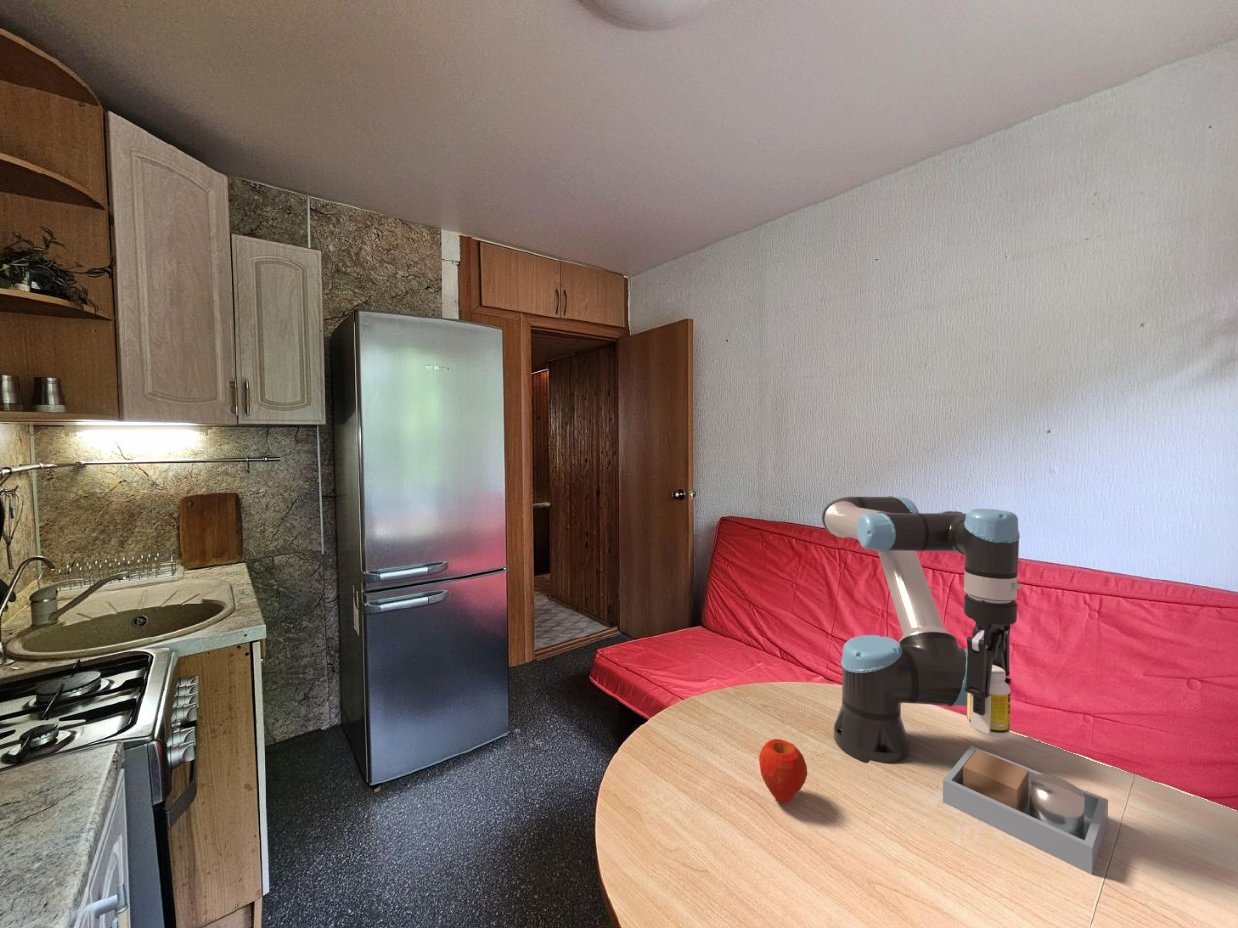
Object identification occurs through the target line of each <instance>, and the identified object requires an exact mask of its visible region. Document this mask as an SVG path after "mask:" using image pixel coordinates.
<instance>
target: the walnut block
mask: <svg viewBox="0 0 1238 928" xmlns="http://www.w3.org/2000/svg"><path fill="white" fill-rule="evenodd" d="M963 786H965V787H967V788H969V789H971V790H974V791H976V792H978V793H980V794H983V795H985V796H987V797H989V798H991V799H994V800H996V801H998V802H1000V803H1002V804H1005V805H1007V806H1009V807H1011V808H1014V809H1016V810H1018V811H1020V812H1023V811H1024V809H1025V807H1026V805H1027V803H1028V789H1029V770H1027V769H1025V768H1022V767H1020V766H1017V765H1015V764H1012V763H1010V762H1007V761H1005V760H1002V759H1000V758H997V757H994V756H992V755H989V754H987V753H984V752H982V751H979V750H976V751H975V752H974V754H973V755H972V756H971V757H970V759H969V760H968V761H967V762H966V764H965V765H964V766H963Z"/></svg>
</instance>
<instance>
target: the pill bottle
mask: <svg viewBox="0 0 1238 928" xmlns="http://www.w3.org/2000/svg"><path fill="white" fill-rule="evenodd" d="M1005 678H1007V676H1006V674H1005V671H1004V670H1003V669H1002V668H1000V667H998V666H995V665H992V672H991V680H990V688H989V696H991V727H990V734H987V733H984V732H981V731H979V730H976V729H974V728H972V729H973V730H974V731H976V732H977V733H979V734H980V733H981V734H983V735H986V736H990V737H994V738H1004V737H1007V736H1009V734H1010V731H1011V695H1012V694H1011V688H1010V685H1009V684H1007V683H1006V682H1004V681H1005ZM966 721H967V724H968V726H969V727H971V694H970V693H967V706H966Z"/></svg>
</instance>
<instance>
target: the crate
mask: <svg viewBox="0 0 1238 928" xmlns="http://www.w3.org/2000/svg"><path fill="white" fill-rule="evenodd" d="M976 750H979V751H982V752H984V753H987V754H989V755H992V756H994V757H997V758H1000V759H1002V760H1005V761H1007V762H1010V763H1012V764H1015V765H1017V766H1020V767H1022V768H1025V769H1027V770H1029V789H1028V803H1027V805H1026V807H1025V809H1024V811H1023V812H1020V811H1018V810H1016V809H1014V808H1011V807H1009V806H1007V805H1005V804H1002V803H1000V802H998V801H996V800H994V799H991V798H989V797H987V796H985V795H983V794H980V793H978V792H976V791H974V790H971V789H969V788H967V787H965V786H963V766H964V765H965V764H966V762H967V761H968V760H969V759H970V757H971V756H972V755H973V754H974V752H975V751H976ZM1034 774H1043V773H1042V772H1039V771H1036V770H1034V769H1031V768H1030V767H1026V766H1024V765H1022V764H1019V763H1016V762H1013V761H1011V760H1008V759H1006V758H1003V757H1001V756H999V755H996V754H994V753H992V752H988V751H986V750H982V749H981V748H979V747H977V746H974V745H970V746H969V748H968V749H967V751H965V752H964V754H963V755H962V756H961V757H960V759H959V760H958V761H957V762H956V763H955V765H954V766H953V767H952V768H951V770H950V771H949V772H948V773H947V774H946V776H945V777H944V778H943V779H942V803H944V804H946V805H947V806H950V807H952V808H954V809H956V810H958V811H960V812H962V813H965V814H966V815H968V816H970V817H972V818H974V819H977V820H978V821H981V822H982V823H985V824H987V825H988V826H990V827H993V828H994V829H997V830H998V831H1001V832H1003V833H1005V834H1007V835H1009V836H1011V837H1013V838H1016V839H1018V840H1020V841H1021V842H1023V843H1025V844H1027V845H1030V846H1032V847H1034V848H1036V849H1038V850H1040V851H1042V852H1044V853H1046V854H1048V855H1051V856H1052V857H1054V858H1057V859H1059V860H1060V861H1063V862H1065V864H1066V863H1067V864H1069V865H1070V866H1073V867H1075V868H1077V869H1079V870H1081V871H1083V872H1085V873H1087V874H1089V875H1093V873H1094V869H1095V866H1096V862H1097V859H1098V857H1099V853H1100V849H1101V846H1102V843H1103V839H1104V836H1105V833H1106V830H1107V826H1108V825H1109V824H1108V821H1109V820H1108V819H1109V799H1108V798H1105V797H1103V796H1100V795H1098V794H1095V793H1092V792H1090V791H1088V790H1085V789H1083V788H1080V787H1077V786H1076V787H1077V788H1078V789H1080V790H1081V791H1082V793H1083V794H1084V797H1085V802H1084V840H1082V839H1080V838H1078V837H1076V836H1073V835H1071V834H1069V833H1067V832H1064V831H1062V830H1060V829H1058V828H1056V827H1053V826H1051V825H1049V824H1047V823H1045V822H1042V821H1040V820H1038V819H1036V818H1033V817H1031V816H1029V807H1030V777H1031V776H1032V775H1034Z"/></svg>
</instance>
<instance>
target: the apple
mask: <svg viewBox="0 0 1238 928" xmlns="http://www.w3.org/2000/svg"><path fill="white" fill-rule="evenodd" d="M758 761H759V769H760V775H761V776H762V779H763V782H764V783H765V786H766V788H767V789H768V790H769V792H770V793H771V795H772V796H773V798H774V799H775V800H776V801H777V802H779V803H781V804H787V803H789V802H790V801H791V800H792V799H793V798H794V797H795V796H796V795H797V794H798V793H799V792H800V791H801V789H802V788H803V787H804V784H805V783H806V779H807V776H808V766H807V763H806V760H805V757H804V755H803V754H802V752H801V751H800V750H799V749H798V747H797V746H795V744H794V743H792V742H789V741H787V740H784V739H782V738H781V739H779V738H775V739H770V740H768V741H767V742H766V743H765V744H764V745H763V746H762V748H761V750H760V753H759V756H758Z"/></svg>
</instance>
